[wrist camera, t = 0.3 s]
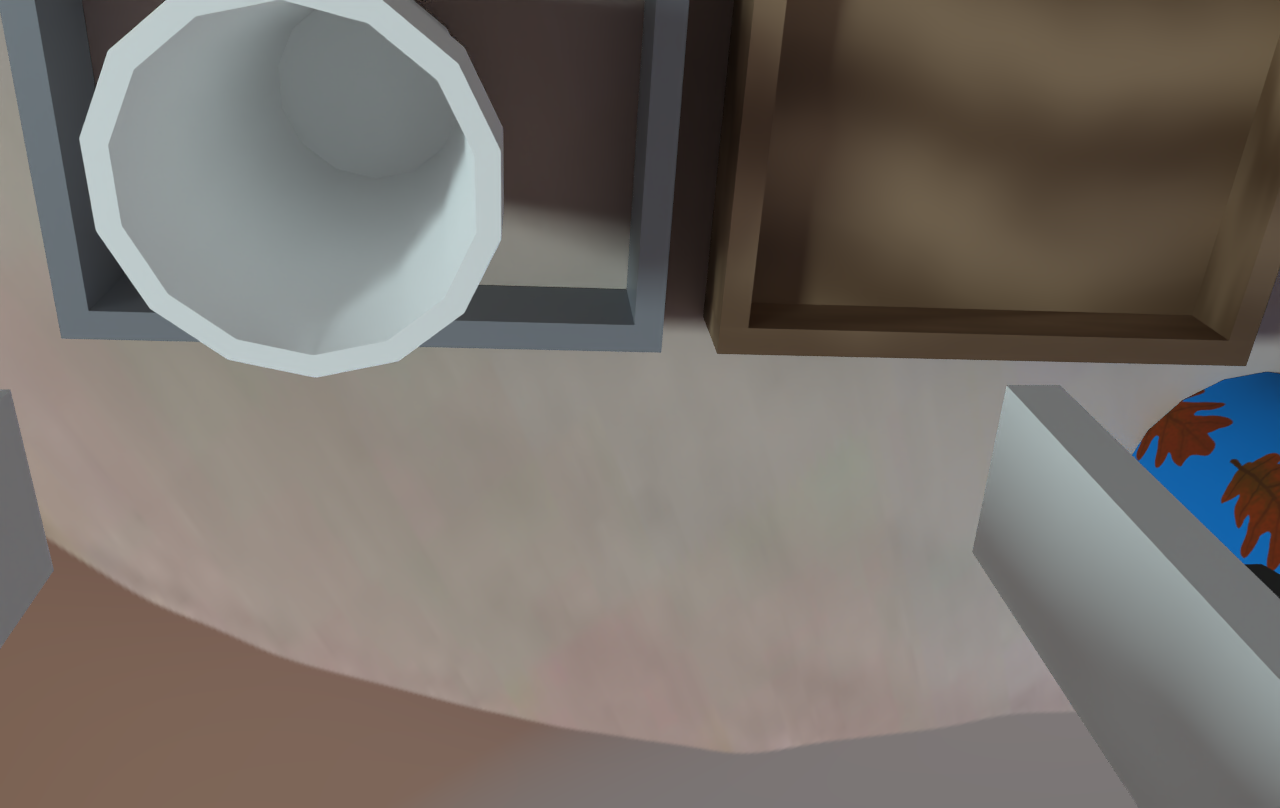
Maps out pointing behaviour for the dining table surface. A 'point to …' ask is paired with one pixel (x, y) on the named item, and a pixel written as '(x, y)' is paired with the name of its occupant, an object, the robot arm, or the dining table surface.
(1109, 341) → the bin
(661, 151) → the bin
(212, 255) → the foam cup
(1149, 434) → the thermos
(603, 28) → the dining table surface
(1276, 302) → the dining table surface
